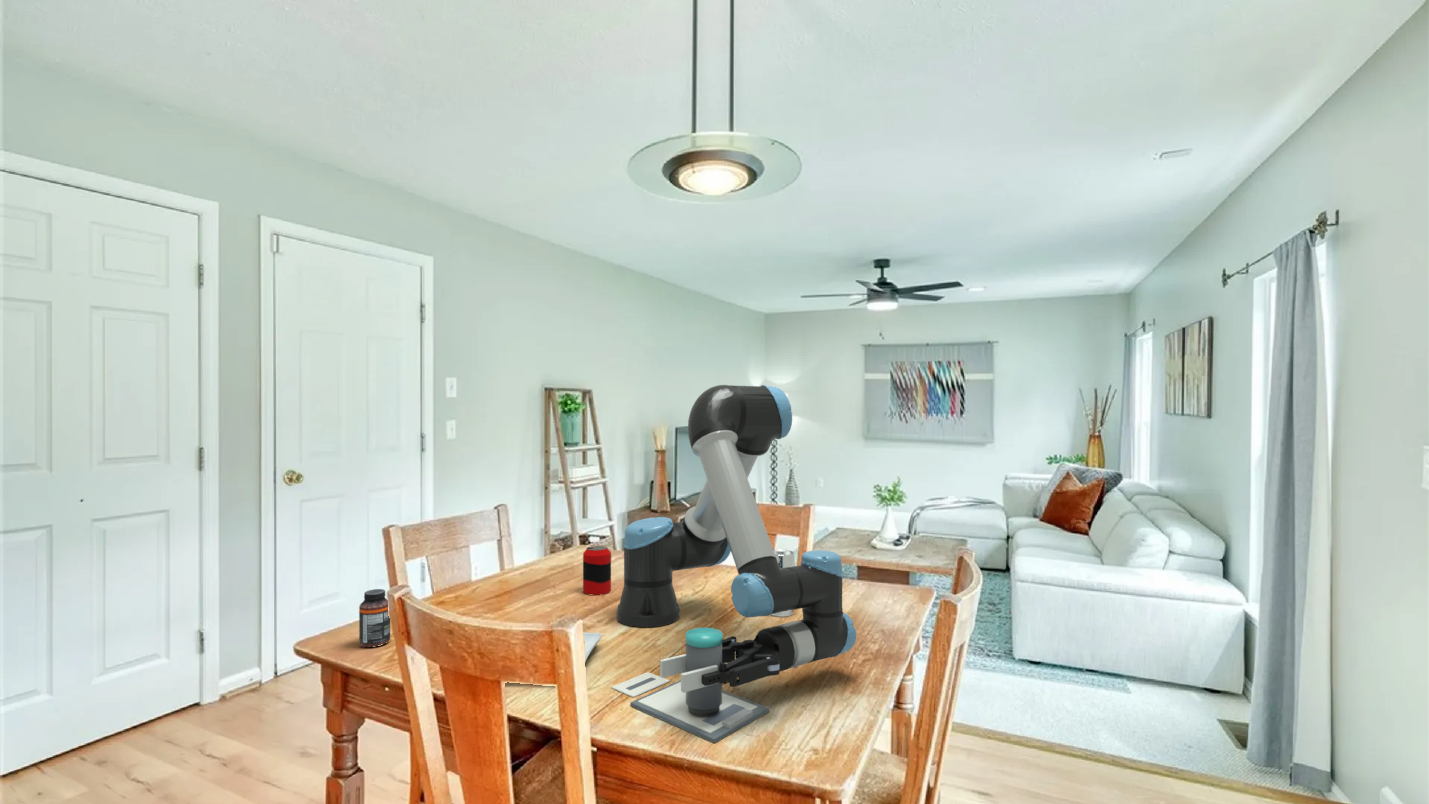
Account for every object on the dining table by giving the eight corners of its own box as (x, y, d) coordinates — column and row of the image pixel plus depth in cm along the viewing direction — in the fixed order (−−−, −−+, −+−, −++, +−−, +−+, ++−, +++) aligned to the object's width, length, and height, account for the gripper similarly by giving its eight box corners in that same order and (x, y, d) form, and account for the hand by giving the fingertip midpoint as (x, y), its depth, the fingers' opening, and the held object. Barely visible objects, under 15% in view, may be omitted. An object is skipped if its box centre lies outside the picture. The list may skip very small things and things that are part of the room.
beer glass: (793, 618, 160) (793, 556, 160) (764, 616, 161) (764, 554, 161) (795, 609, 166) (795, 549, 166) (768, 607, 168) (768, 548, 168)
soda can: (584, 588, 186) (584, 545, 186) (611, 587, 187) (611, 545, 187) (581, 596, 178) (581, 551, 178) (610, 595, 179) (610, 550, 179)
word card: (611, 688, 120) (611, 686, 120) (647, 673, 127) (647, 671, 127) (633, 697, 116) (633, 696, 116) (670, 681, 123) (670, 680, 123)
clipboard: (630, 705, 113) (630, 698, 113) (687, 680, 123) (687, 673, 123) (714, 743, 100) (714, 734, 100) (769, 711, 111) (769, 703, 111)
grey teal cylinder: (677, 709, 109) (677, 634, 109) (702, 697, 114) (702, 625, 114) (705, 721, 105) (705, 643, 105) (729, 708, 110) (730, 633, 110)
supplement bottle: (363, 640, 144) (363, 588, 144) (393, 638, 146) (393, 586, 146) (355, 650, 139) (355, 596, 139) (386, 647, 140) (387, 593, 140)
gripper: (819, 686, 111) (703, 723, 98) (751, 651, 127) (643, 679, 114) (819, 641, 111) (703, 672, 98) (751, 612, 127) (643, 635, 114)
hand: (671, 675), depth 106 cm, fingers closed on grey teal cylinder, 6 cm apart
